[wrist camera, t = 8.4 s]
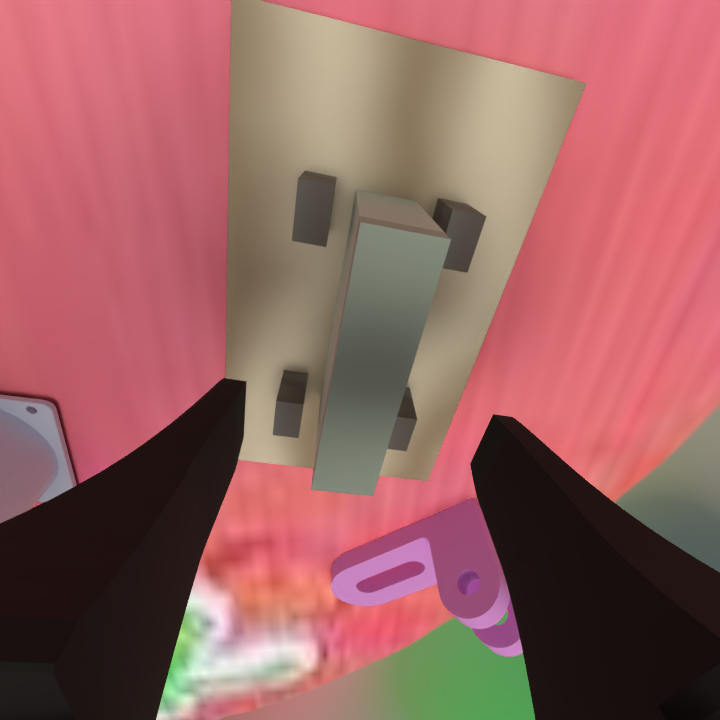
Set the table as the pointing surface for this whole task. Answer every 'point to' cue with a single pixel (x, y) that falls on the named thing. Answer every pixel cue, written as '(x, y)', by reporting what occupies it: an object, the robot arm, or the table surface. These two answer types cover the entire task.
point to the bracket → (436, 572)
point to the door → (374, 336)
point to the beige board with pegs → (379, 175)
